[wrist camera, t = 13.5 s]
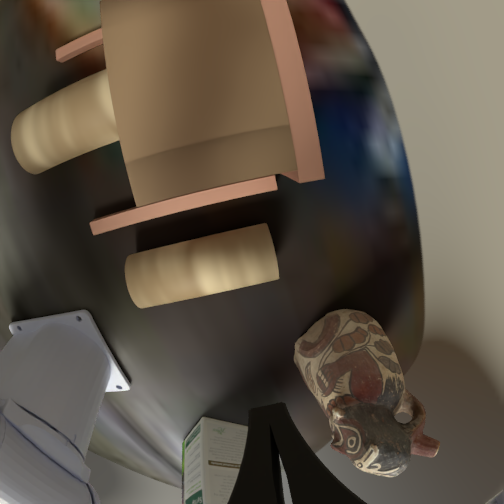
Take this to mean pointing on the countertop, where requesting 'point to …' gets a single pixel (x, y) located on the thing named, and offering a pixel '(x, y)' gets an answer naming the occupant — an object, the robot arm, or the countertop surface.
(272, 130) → the block
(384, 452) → the figurine
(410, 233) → the countertop surface
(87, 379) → the robot arm
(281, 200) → the countertop surface
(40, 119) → the dowel
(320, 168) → the end wall and guide rails
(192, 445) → the syrup box
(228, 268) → the short dowel
